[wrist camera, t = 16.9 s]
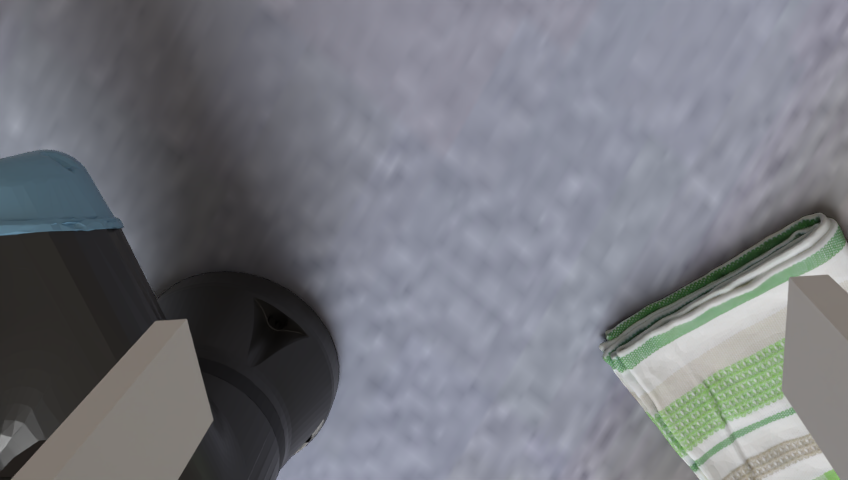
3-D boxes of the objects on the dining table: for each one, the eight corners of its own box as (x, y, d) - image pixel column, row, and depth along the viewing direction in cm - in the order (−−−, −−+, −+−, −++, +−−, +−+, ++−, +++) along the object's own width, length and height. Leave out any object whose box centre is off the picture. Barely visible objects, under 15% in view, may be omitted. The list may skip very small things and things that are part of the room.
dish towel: (821, 200, 47) (846, 218, 43) (968, 449, 52) (1000, 482, 49) (590, 332, 52) (597, 358, 48) (747, 547, 57) (763, 583, 54)
